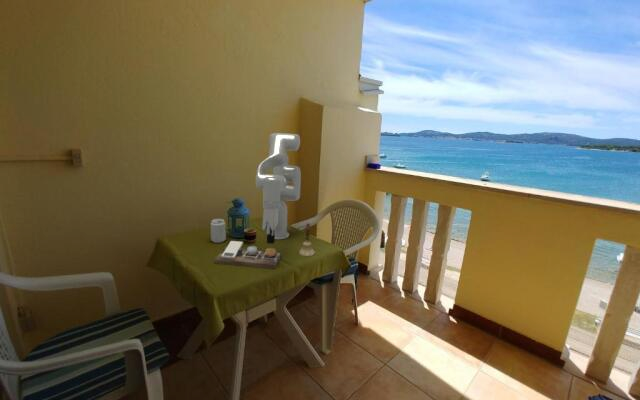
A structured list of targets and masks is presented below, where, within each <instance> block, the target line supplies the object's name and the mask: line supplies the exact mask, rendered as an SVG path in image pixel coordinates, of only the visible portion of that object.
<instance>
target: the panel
mask: <svg viewBox="0 0 640 400" xmlns="http://www.w3.org/2000/svg"><path fill="white" fill-rule="evenodd" d="M226 248H227V246H225V247H224V248H222V251H221V252H220V253H219V254H218V255H217V256H216V257H215V258H213V263H214V264H217V265H218V264H219V265H220V264H221V265H229V266H239V267H241V266H242V267H250V268H251V267H252V268H259V269H260V268H261V269H271V270H275V269H276V266H277V265H278V263H279V261H280V259H281V258H282V252H278V251H276V254H275V256H272V257H269V256H266V250H257V253H256V254H254V255H249V254H247V248H246V249H243V248H242V247H241V248H240V249H239V250H238V254H237V256H236V257H235V259H229V258H222V254H223V253H224V251H225V250H226Z"/></svg>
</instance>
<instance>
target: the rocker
mask: <svg viewBox="0 0 640 400" xmlns="http://www.w3.org/2000/svg"><path fill="white" fill-rule="evenodd" d="M243 245H244V242H243V241H237V240H230V242H229V243H228V245H227V246H226V247H227V248H226V250H225V251H224V253H223V254H222V258H229V259H235V257H236V256H237V254H238V250H239V249H240V248H242V246H243Z"/></svg>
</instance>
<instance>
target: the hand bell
mask: <svg viewBox="0 0 640 400" xmlns="http://www.w3.org/2000/svg"><path fill="white" fill-rule="evenodd" d="M304 232H305V233H304V234H305V241H304V242H302V247H301V248H300V249H299V251H298V253H299V255H300V256H303V257H311V256H314V255H315V254H316V251H315V250H314V249H313V245H312V242H311V241H310V234H311V225H310V223H309V222H307V223H306V226H305V230H304Z"/></svg>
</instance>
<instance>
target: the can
mask: <svg viewBox="0 0 640 400" xmlns="http://www.w3.org/2000/svg"><path fill="white" fill-rule="evenodd" d="M226 234H227V233H226V222H225V219H223V218H214V219H212V220H211V222H210V241H212V243H214V244H220V243H223V242H225V241H226V239H227V235H226Z"/></svg>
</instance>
